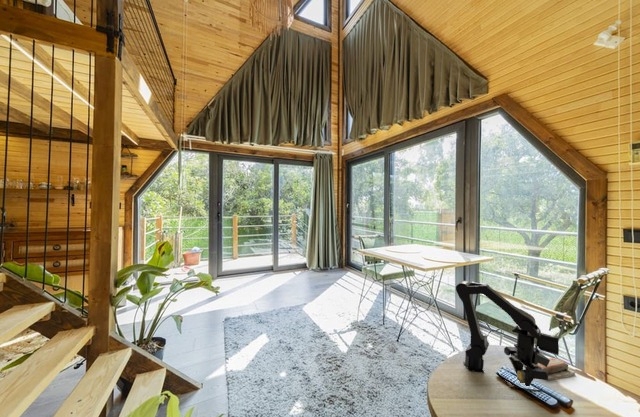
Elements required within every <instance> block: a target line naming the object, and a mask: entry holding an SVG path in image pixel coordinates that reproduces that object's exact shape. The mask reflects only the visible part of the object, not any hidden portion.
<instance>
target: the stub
mask: <svg viewBox="0 0 640 417" xmlns="http://www.w3.org/2000/svg"><path fill="white" fill-rule="evenodd" d="M517 379H518V380H519V381H520V383H525V381H524V378H523V374H522V371H519V370H518V371H517ZM506 382H507V384H508V385H509V386H510V387H513V386H514V385H512V384H511V383H510V382H508V381H506ZM506 382H505V383H506ZM507 384H506V385H507ZM508 385H507V386H508ZM509 386H508V387H509ZM510 387H509V388H510Z"/></svg>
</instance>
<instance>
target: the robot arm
mask: <svg viewBox="0 0 640 417" xmlns="http://www.w3.org/2000/svg"><path fill="white" fill-rule="evenodd" d="M455 291H456V293H457V295H458V298H459V299H460V300H461V302H462V305H463V309H464V313H465V316H466V320H467V321H466V322H467V324H468V329H469V332H470V343H469V344H468V346H467V347H466V349H465V351H464V352H465V357H464V358H465V360H464V361H463V364H464V365H465V367H466V368H467V370H468V371H469V372H477V373H485V370H484V365H485V364H484V362H485V360H484V357H483V356H484V355H486V353H487V350H488V349H489V346H490V343H489V340H488V335H484V334H483V333H482V330H481V327H480V324H479V320H478V317H477V312H476V308H475V305H474V299H473V297H474V296H473V295H483V296H485V297H486V298H488V300H490V301H492V303H494V304H495V305H496V306H498V308H500V309H501V310H503V312H505V313H506V314H507V315H508V316H509V317H510V319H512V321H513V322H514V323H515V324H516V326H514V327H512V329H511V333H515V334H517V336H516V343H514V344H513V346H507V345H506V347H504V348H503V353H504V354H505V355H506V356H508V359H509V361H510V362H511V365H512V367H513V369H514V372H516V374H517V371H518V370H519V371H522V374H523V378H524V381H525V385H526V386H530V384H531V382H532V381H534V380H535V379H536V380H541V381H542V380H543V381H549V380H548V376H549V375H548V374H547V372H545V371H544V370H543V369H542V368H541V367H537V366H533V365H532V364H538V363H539V364H542V365H544V366H545V367H547V366H548V364H549V362H550V360H549V359H548V357H546V356H545V355H544V354H542V353H541V352H540V351H542V352H545V353H549V354H552V355H554V356H559V355H560V354H559V352H560V347H559V346H560V345H559V337H558V335H557V336H556V335H551V334H546V333H543V332H542V331H541V329H540V327H538V325H537V324H536V318H535V317H534V316H533V315H531V314H530V313H528V312H527V311H525V310H524V309H521V308H518V307H516V306H515V305H514V304H513V303H511V302H510V301H509V300H507V299H506V298H505V297H504V296H502V295H501V294H500V293H498V292H497V291H496V290H494V289H493V288H492V287H491V286H490V285H489V284H487V283H477V282H470V281H468V280H462V281H460V282H459V283H457V285H456V287H455ZM535 339H536V347H537V348H536V347H535ZM524 366H527V367H526V368H525V367H524Z"/></svg>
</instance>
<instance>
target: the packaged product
mask: <svg viewBox="0 0 640 417" xmlns="http://www.w3.org/2000/svg"><path fill="white" fill-rule="evenodd" d="M547 358H548V357H547ZM548 359H549V360H550V362H549V364H548V366H547V367H545V366H544V365H542V364H539V363H538V364H532V365H533V366H537V367H541V368H542V369H543V370H544V371H545V372H547V374H548V375H549V376H548V380H547V381H550V379H551V380H556V379H557V378H558V379H563V378H567V377H572V376H575V374H576V372H575V371H573V370H571V369H569V363H567V362H566V361H564V360H563V359H558V358H554V357H549V358H548ZM526 367H527V366H523V368H524V369H525V368H526ZM555 378H556V379H555Z"/></svg>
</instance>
